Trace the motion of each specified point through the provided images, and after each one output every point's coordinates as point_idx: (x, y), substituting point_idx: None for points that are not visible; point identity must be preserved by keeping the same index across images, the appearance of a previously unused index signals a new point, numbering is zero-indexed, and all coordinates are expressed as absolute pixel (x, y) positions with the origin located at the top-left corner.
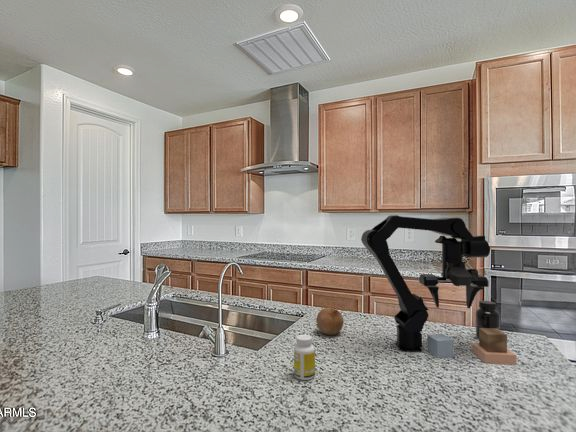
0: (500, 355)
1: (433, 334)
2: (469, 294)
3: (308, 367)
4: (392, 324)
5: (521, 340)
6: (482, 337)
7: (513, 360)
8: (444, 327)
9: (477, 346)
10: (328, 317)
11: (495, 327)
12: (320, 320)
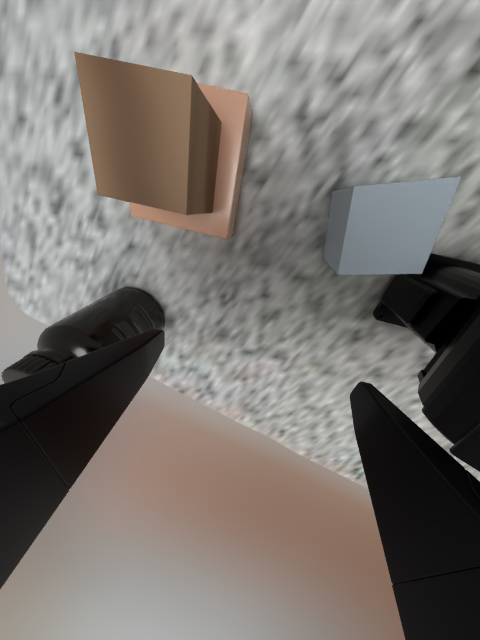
0: None
1: (388, 271)
2: (70, 420)
3: None
4: (327, 425)
5: (61, 288)
6: (202, 173)
7: None
8: (210, 386)
9: (227, 198)
10: None
11: (96, 304)
12: None
